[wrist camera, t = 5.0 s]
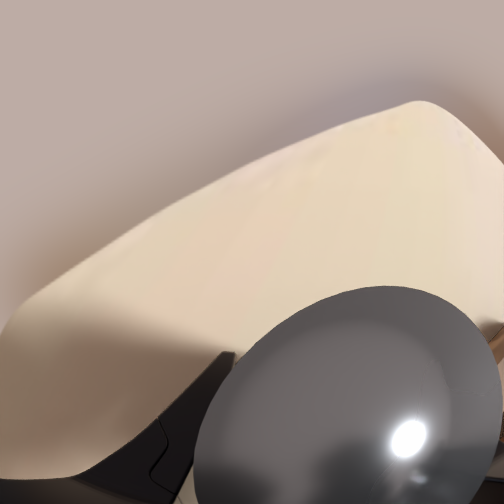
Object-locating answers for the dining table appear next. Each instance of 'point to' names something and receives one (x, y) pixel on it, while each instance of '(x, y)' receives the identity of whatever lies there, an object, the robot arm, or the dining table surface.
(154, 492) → the robot arm
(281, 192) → the dining table surface
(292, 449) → the steel pin
